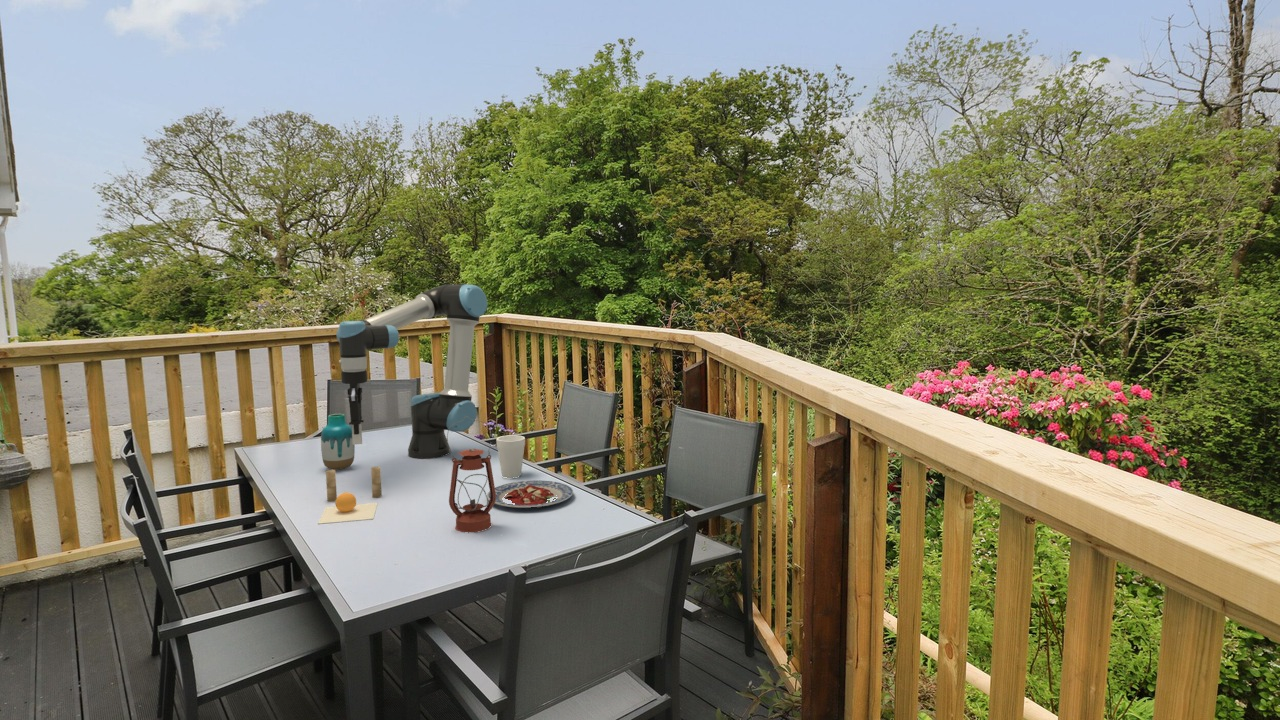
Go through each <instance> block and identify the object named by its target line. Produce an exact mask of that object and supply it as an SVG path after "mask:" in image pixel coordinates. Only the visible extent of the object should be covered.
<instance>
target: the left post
mask: <svg viewBox="0 0 1280 720" xmlns="http://www.w3.org/2000/svg"><path fill="white" fill-rule="evenodd" d="M336 473H337V472H336V470H332V469H328V470H326V471H325V478H326V479H325V482H326V496H327V497H326V499H327V500H326V501H327V502H336V499H337V497H338V496H337V495H338V494H337V493H338V492H337V475H336Z"/></svg>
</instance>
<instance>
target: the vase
mask: <svg viewBox="0 0 1280 720" xmlns="http://www.w3.org/2000/svg"><path fill="white" fill-rule="evenodd" d="M320 435H321V436H320V445H321V446H320V448H321V449H320V451H321V458H322V459H321V460H322V463H323V464H324V466H325V467H326V468H327V469H328V470H335V471H338V470H345V469H347V468H349V467H350V466H352V465H353V463H354V460H355V453H356V452H355V448H356V447H355V444H353V442H352V425H349V424H347V421H346V414H345V413H332V414H329V415H327V424H326V426H325V427H323V428H322V429H321V434H320Z"/></svg>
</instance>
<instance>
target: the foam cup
mask: <svg viewBox="0 0 1280 720" xmlns="http://www.w3.org/2000/svg"><path fill="white" fill-rule="evenodd" d="M495 439H496V447H497V452H498V460H499V466H500V472H501V477H502V476H503V477H507V478H513V477H518V476H520V475H521V476H522V470H523V462H524V452H525V446H526V438H525V436H522V435H518V434H515V435H514V434H513V435H512V434H511V435H510V434H509V435H507V434H506V435H502V436H499V437H496V438H495ZM521 476H520V477H521ZM503 477H502V478H503ZM507 478H506V479H507ZM518 478H519V477H518ZM513 479H514V478H513Z"/></svg>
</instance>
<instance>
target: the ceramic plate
mask: <svg viewBox="0 0 1280 720" xmlns="http://www.w3.org/2000/svg"><path fill="white" fill-rule="evenodd" d="M495 492H496V501H495V503H494V505H498V506H502V507H509V508H518V509H532V508H531V507H537V508H542V506H543V507H545V506H546V507H548V506H552V505H556V504H560V503H562V502H565V501H566V500H568V499H570V498H571V497H572V496H573V494H574V489H573V488H572V487H571V486H569V485H567V484H566V483H562V482H557V481H552V480H543V479H542V480H541V479H540V480H536V479H535V480H531V479H530V480H521V481H514V482H508V483H504V484H500V485H498V486H496V487H495ZM507 493H508V494H507ZM505 494H507V495H506V496H505ZM486 495H487V498H488V502H489V501H490V490H489V491H487V493H486ZM556 495H557V496H556ZM504 496H505V497H504ZM503 497H504V498H505V499H508V500H511V501H512V503H515V505H513V504H507V503H505V502H503V500H502V498H503ZM552 497H558V498H557V499H556V498H554V499H556V500H555V501H552V502H550V500H547V499H550V498H552ZM487 498H486V499H487ZM554 499H553V500H554ZM547 501H548V503H546V502H547Z"/></svg>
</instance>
